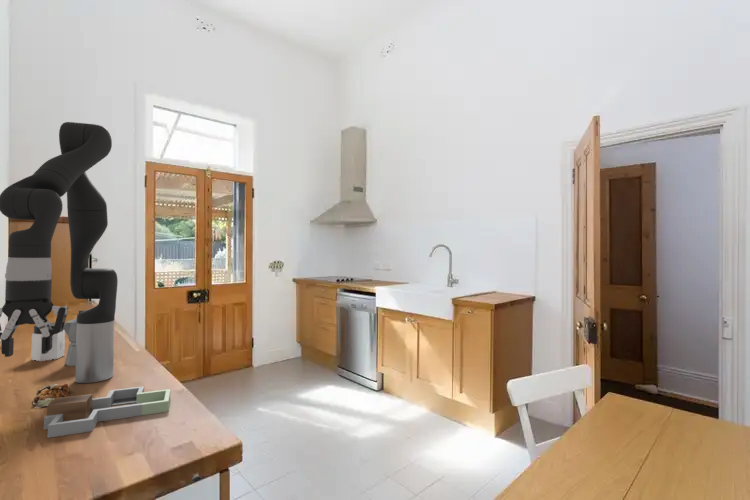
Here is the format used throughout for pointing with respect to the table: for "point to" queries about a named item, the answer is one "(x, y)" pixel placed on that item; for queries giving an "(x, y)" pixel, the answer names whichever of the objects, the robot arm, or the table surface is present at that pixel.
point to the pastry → (49, 395)
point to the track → (111, 410)
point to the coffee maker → (71, 332)
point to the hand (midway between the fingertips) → (27, 354)
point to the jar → (57, 345)
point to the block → (71, 407)
